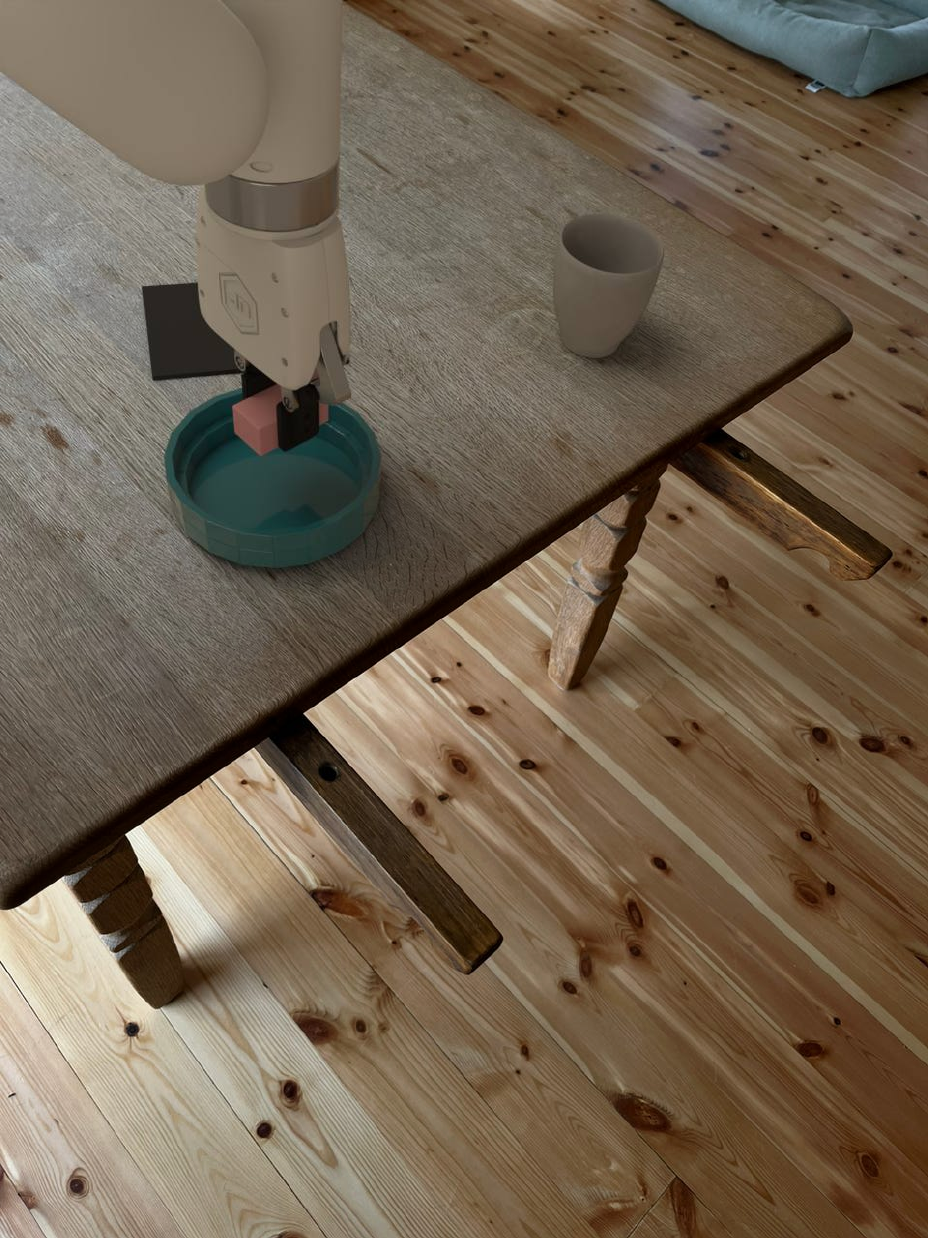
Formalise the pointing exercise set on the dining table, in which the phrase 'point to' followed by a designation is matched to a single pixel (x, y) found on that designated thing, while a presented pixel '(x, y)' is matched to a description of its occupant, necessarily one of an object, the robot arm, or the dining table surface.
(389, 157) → the dining table surface
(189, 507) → the bowl
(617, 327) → the mug
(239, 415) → the eraser
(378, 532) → the dining table surface
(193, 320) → the mat
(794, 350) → the dining table surface
